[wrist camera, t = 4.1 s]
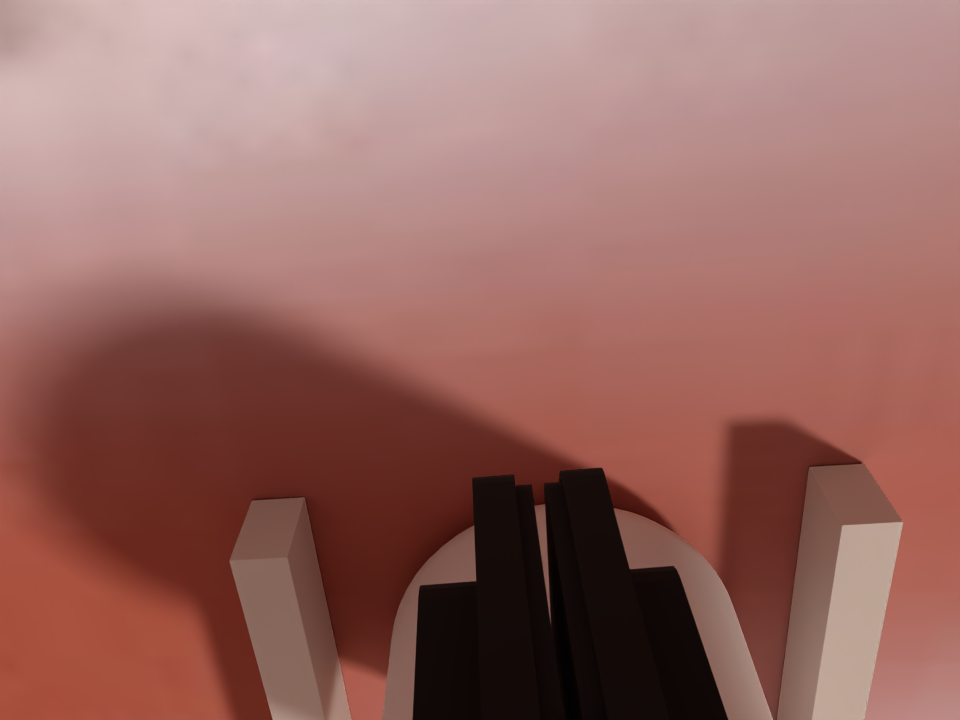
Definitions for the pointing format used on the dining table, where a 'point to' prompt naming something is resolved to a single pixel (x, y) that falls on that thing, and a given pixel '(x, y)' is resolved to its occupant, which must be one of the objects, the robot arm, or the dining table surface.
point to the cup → (457, 564)
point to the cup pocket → (811, 634)
